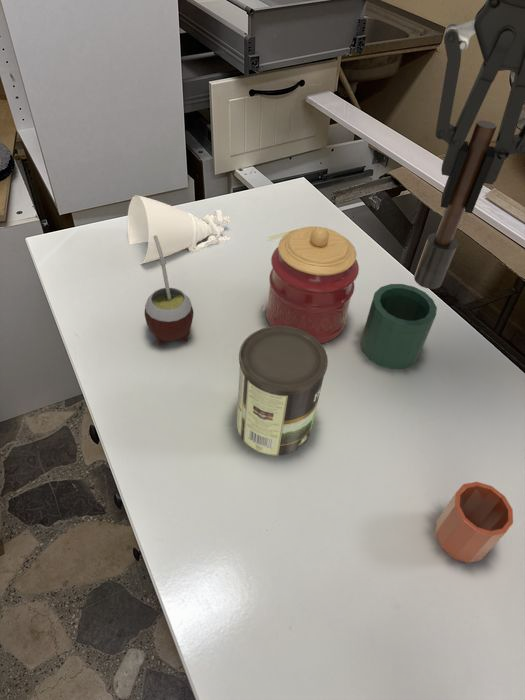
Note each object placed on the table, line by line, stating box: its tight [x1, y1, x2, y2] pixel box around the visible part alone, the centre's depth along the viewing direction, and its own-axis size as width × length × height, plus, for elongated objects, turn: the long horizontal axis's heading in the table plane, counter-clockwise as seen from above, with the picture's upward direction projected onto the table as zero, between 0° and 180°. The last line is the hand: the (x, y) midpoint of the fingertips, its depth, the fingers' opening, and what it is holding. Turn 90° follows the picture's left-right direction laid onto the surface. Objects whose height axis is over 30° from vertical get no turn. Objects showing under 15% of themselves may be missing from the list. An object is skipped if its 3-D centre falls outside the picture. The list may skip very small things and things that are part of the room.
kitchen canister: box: [265, 225, 360, 344], centre depth 79 cm, size 13×13×18 cm
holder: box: [434, 481, 514, 564], centre depth 58 cm, size 6×6×8 cm
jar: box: [359, 283, 438, 370], centre depth 79 cm, size 9×9×10 cm
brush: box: [413, 120, 497, 290], centre depth 60 cm, size 4×4×20 cm
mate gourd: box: [144, 236, 194, 346], centre depth 76 cm, size 8×8×15 cm
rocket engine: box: [126, 195, 232, 265], centre depth 95 cm, size 12×12×18 cm
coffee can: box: [236, 326, 329, 456], centre depth 66 cm, size 10×10×14 cm
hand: (456, 203), depth 59 cm, fingers closed on brush, 2 cm apart
